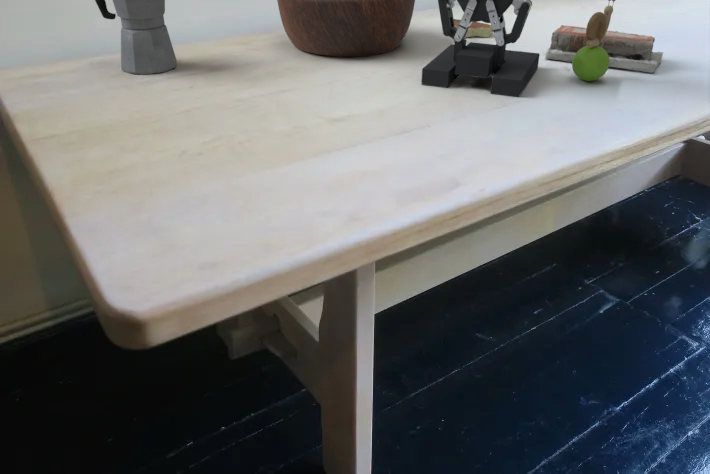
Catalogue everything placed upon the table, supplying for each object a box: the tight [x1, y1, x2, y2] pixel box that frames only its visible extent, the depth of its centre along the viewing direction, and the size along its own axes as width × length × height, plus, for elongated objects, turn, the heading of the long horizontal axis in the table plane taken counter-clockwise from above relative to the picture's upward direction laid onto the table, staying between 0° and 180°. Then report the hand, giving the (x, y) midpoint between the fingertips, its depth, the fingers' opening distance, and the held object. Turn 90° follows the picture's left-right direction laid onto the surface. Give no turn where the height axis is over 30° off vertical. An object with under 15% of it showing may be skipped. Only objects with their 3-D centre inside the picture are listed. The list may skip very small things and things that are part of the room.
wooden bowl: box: [276, 0, 416, 57], centre depth 121 cm, size 25×25×10 cm
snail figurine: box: [571, 0, 616, 82], centre depth 102 cm, size 5×6×12 cm
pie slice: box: [453, 18, 494, 39], centre depth 132 cm, size 11×8×2 cm
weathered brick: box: [544, 24, 664, 74], centre depth 113 cm, size 18×5×10 cm
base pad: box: [421, 43, 541, 98], centre depth 105 cm, size 15×16×2 cm
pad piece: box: [455, 41, 496, 79], centre depth 102 cm, size 5×8×3 cm, turn 157°
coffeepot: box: [94, 0, 177, 75], centre depth 106 cm, size 15×9×18 cm, turn 77°
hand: (478, 66), depth 102 cm, fingers closed on pad piece, 5 cm apart
